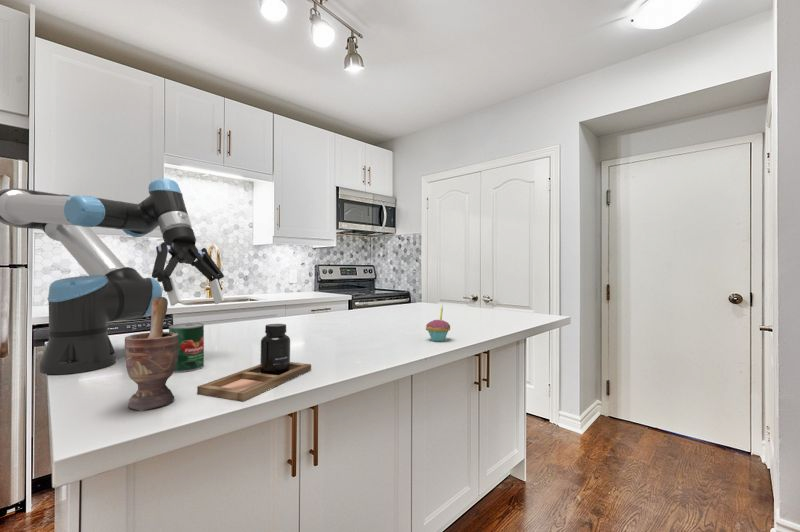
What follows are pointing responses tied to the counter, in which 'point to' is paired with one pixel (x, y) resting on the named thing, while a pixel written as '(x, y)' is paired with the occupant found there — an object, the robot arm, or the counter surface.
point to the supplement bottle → (275, 350)
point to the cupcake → (438, 329)
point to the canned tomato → (189, 346)
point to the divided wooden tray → (249, 382)
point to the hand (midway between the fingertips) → (199, 302)
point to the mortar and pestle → (152, 360)
